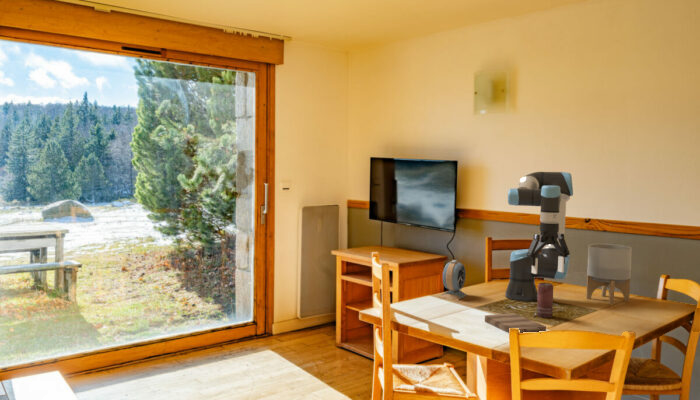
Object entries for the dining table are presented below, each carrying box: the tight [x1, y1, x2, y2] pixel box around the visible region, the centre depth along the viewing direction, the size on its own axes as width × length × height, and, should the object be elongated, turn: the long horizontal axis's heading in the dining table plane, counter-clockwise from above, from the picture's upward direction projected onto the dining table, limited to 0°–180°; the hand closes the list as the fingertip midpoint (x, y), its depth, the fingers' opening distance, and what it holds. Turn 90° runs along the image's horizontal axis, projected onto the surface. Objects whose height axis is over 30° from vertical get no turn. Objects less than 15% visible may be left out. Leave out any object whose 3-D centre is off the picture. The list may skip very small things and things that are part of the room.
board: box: [484, 312, 547, 334], centre depth 213 cm, size 22×14×2 cm, turn 19°
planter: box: [585, 243, 633, 306], centre depth 263 cm, size 19×19×26 cm
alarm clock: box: [439, 259, 468, 301], centre depth 265 cm, size 14×10×18 cm
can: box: [536, 282, 554, 319], centre depth 231 cm, size 6×6×14 cm
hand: (547, 272), depth 230 cm, fingers open, 13 cm apart
